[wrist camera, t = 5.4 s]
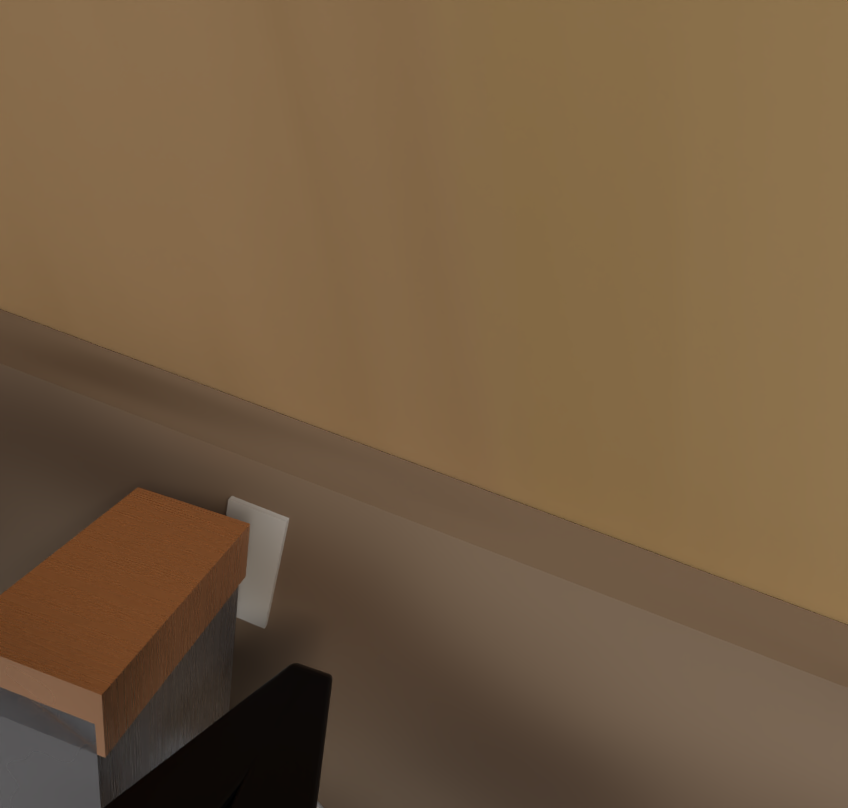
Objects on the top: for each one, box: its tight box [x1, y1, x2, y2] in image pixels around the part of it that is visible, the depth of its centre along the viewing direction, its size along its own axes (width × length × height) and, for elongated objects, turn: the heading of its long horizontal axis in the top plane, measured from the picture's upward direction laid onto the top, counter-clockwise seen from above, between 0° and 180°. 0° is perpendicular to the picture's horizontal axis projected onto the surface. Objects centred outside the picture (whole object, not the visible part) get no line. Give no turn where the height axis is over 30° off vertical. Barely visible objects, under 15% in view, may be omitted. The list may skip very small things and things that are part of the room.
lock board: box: [0, 309, 848, 808], centre depth 14 cm, size 20×20×2 cm
